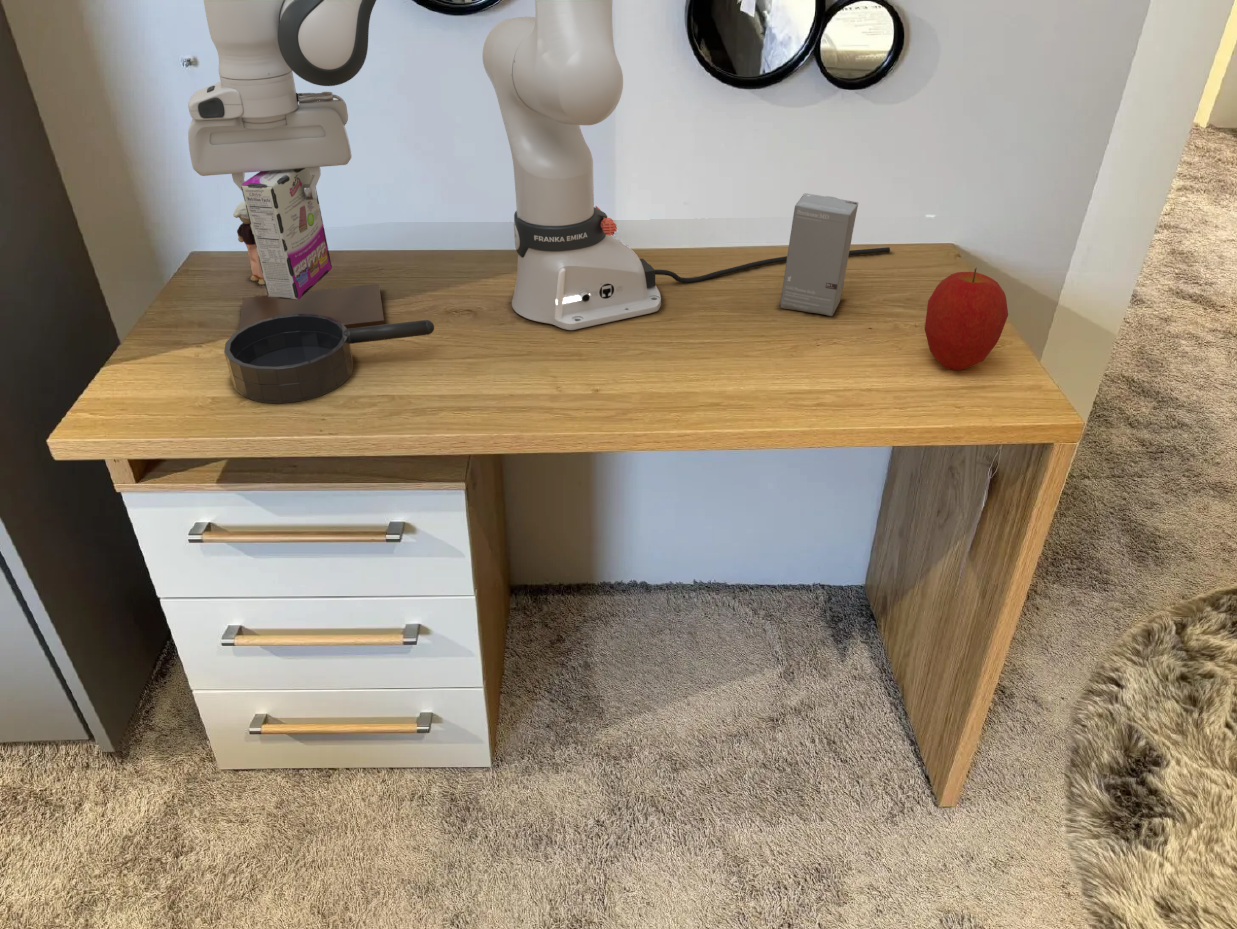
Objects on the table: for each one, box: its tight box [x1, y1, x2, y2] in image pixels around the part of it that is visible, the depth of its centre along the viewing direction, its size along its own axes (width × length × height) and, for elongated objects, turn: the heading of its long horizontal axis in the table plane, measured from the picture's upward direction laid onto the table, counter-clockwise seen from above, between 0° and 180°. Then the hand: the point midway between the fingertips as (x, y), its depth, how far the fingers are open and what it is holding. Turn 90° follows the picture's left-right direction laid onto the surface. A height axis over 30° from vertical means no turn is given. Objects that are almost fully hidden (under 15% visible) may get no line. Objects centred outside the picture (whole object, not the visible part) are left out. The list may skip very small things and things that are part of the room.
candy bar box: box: [241, 168, 333, 300], centre depth 133 cm, size 11×5×16 cm, turn 169°
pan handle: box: [343, 319, 435, 345], centre depth 128 cm, size 12×2×2 cm, turn 105°
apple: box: [924, 267, 1009, 371], centre depth 125 cm, size 10×10×14 cm
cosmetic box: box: [779, 192, 859, 317], centre depth 140 cm, size 8×7×16 cm
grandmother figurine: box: [233, 200, 265, 286], centre depth 149 cm, size 8×4×13 cm, turn 57°
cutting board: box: [238, 283, 385, 331], centre depth 141 cm, size 20×13×2 cm, turn 105°
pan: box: [223, 314, 354, 404], centre depth 126 cm, size 15×15×5 cm
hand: (282, 201), depth 131 cm, fingers closed on candy bar box, 6 cm apart
